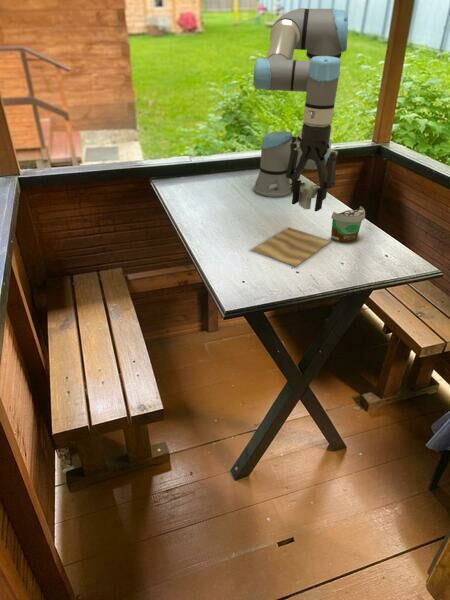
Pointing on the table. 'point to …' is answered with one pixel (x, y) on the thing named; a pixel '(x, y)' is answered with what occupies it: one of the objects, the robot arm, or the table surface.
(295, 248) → the wooden board
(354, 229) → the food container
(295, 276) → the table surface
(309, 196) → the lighter
